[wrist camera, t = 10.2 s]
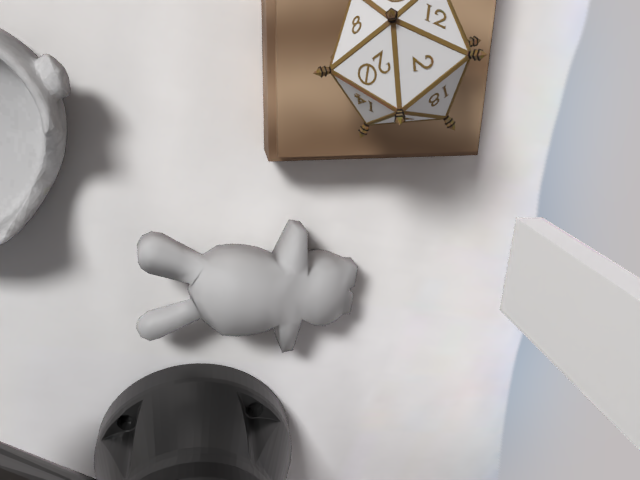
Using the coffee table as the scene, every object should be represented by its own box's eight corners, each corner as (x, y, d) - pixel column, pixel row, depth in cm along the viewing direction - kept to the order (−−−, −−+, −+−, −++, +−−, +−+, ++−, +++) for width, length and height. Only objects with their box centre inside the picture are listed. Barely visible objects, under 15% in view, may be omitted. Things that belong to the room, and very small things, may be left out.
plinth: (459, 144, 43) (483, 159, 39) (264, 149, 40) (270, 165, 37) (484, -77, 37) (514, -84, 34) (259, -85, 35) (266, -94, 31)
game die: (364, 75, 39) (357, 197, 34) (296, -32, 33) (274, 95, 28) (501, 24, 35) (517, 153, 30) (451, -109, 29) (460, 23, 24)
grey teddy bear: (352, 358, 43) (137, 372, 39) (330, 322, 48) (135, 331, 43) (372, 238, 40) (138, 238, 35) (347, 212, 44) (136, 209, 40)
